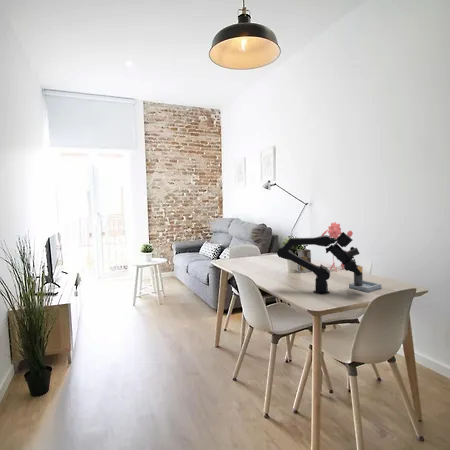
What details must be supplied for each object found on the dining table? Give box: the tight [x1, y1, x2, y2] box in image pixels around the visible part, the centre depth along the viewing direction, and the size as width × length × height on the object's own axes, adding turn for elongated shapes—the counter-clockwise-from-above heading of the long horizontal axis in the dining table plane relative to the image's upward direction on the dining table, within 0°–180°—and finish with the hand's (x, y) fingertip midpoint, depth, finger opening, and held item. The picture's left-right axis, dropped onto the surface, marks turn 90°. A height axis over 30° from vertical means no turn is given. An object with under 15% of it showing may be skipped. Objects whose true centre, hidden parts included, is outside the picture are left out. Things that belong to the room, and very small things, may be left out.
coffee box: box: [297, 248, 312, 274], centre depth 241 cm, size 9×6×16 cm
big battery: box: [353, 264, 363, 286], centre depth 181 cm, size 4×4×11 cm
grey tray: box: [348, 280, 382, 293], centre depth 192 cm, size 12×12×2 cm
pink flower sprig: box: [320, 221, 354, 272], centre depth 244 cm, size 15×26×35 cm, turn 111°
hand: (360, 273), depth 180 cm, fingers closed on big battery, 4 cm apart
